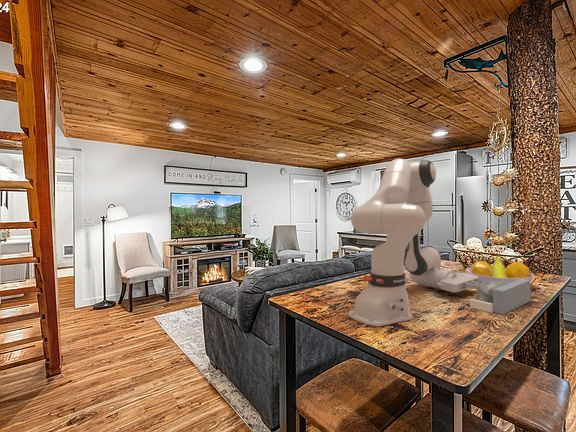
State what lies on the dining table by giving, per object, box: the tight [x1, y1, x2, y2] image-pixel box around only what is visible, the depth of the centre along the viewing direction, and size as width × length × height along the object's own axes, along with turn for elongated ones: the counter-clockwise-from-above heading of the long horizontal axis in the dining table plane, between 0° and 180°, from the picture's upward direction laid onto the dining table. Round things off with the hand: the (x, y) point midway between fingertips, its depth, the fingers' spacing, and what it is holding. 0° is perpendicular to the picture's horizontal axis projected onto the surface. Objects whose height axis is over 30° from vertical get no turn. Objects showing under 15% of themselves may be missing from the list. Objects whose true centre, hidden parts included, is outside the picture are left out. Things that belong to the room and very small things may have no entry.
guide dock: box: [469, 279, 532, 315], centre depth 109 cm, size 26×10×8 cm, turn 123°
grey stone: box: [476, 280, 507, 304], centre depth 111 cm, size 14×10×10 cm
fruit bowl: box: [464, 255, 536, 284], centre depth 137 cm, size 28×27×11 cm
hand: (481, 286), depth 115 cm, fingers closed
